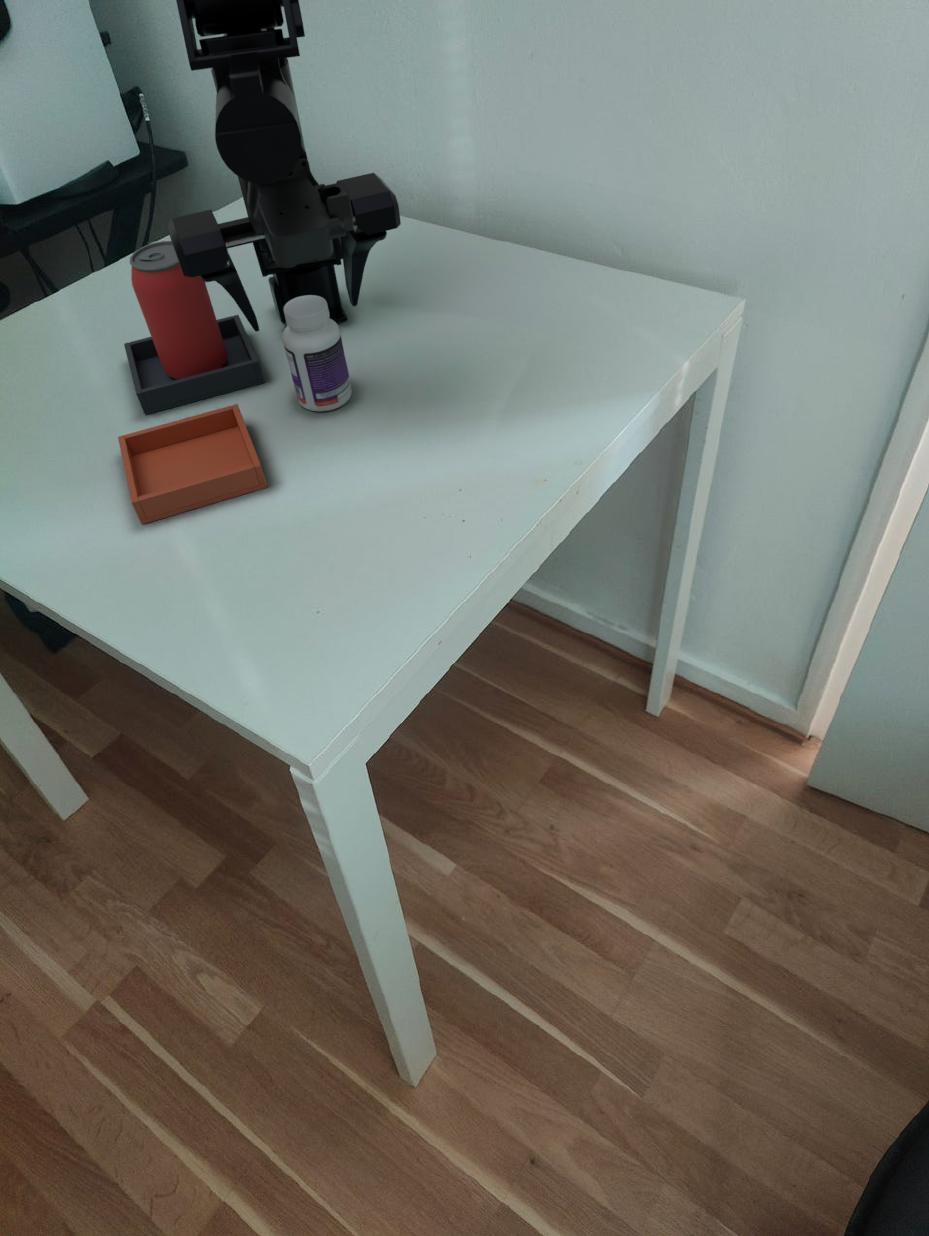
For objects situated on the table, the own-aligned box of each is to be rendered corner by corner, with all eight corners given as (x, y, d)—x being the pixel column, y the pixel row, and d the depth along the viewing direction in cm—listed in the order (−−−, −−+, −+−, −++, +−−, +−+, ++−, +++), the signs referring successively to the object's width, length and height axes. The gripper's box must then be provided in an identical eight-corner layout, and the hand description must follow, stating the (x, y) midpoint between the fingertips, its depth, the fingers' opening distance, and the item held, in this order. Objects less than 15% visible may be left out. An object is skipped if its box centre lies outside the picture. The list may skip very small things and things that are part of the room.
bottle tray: (244, 425, 83) (237, 403, 81) (268, 487, 77) (261, 464, 75) (127, 458, 81) (117, 436, 79) (141, 524, 74) (131, 502, 73)
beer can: (170, 352, 92) (130, 241, 83) (232, 346, 92) (198, 234, 83) (160, 387, 88) (117, 274, 79) (225, 381, 88) (189, 267, 79)
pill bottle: (361, 385, 86) (344, 293, 79) (338, 416, 83) (319, 324, 76) (312, 378, 88) (291, 287, 80) (288, 409, 84) (264, 317, 77)
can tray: (244, 335, 94) (238, 314, 92) (265, 382, 88) (258, 360, 86) (132, 364, 92) (123, 343, 90) (145, 415, 85) (136, 393, 84)
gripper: (159, 197, 60) (221, 389, 72) (410, 141, 64) (431, 333, 76) (139, 144, 67) (199, 326, 79) (367, 96, 71) (391, 277, 83)
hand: (305, 316), depth 79 cm, fingers open, 9 cm apart
